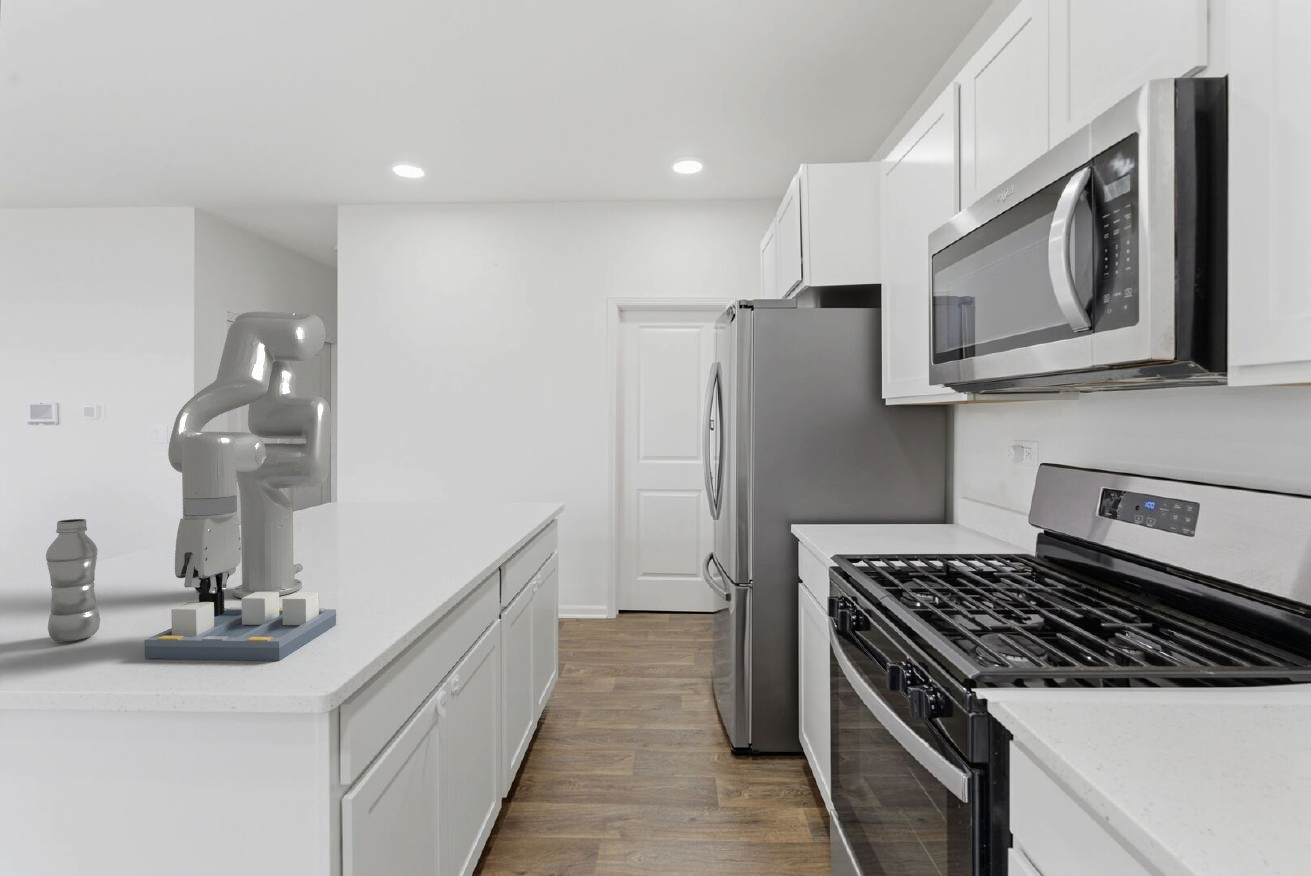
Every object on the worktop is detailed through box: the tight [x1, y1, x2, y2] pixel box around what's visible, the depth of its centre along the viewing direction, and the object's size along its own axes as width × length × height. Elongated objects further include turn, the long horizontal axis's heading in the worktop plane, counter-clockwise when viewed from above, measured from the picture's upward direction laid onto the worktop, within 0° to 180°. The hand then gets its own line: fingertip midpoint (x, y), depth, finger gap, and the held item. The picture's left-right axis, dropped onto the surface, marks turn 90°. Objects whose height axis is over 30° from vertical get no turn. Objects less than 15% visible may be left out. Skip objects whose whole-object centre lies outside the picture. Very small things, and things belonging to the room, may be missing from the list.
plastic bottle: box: [45, 518, 101, 642], centre depth 107 cm, size 6×7×20 cm
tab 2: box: [241, 592, 280, 625], centre depth 111 cm, size 4×4×4 cm
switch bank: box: [144, 606, 337, 662], centre depth 107 cm, size 17×21×3 cm
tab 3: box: [281, 591, 320, 625], centre depth 111 cm, size 4×4×4 cm
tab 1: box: [170, 601, 214, 637], centre depth 104 cm, size 4×4×4 cm
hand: (211, 614), depth 108 cm, fingers closed
